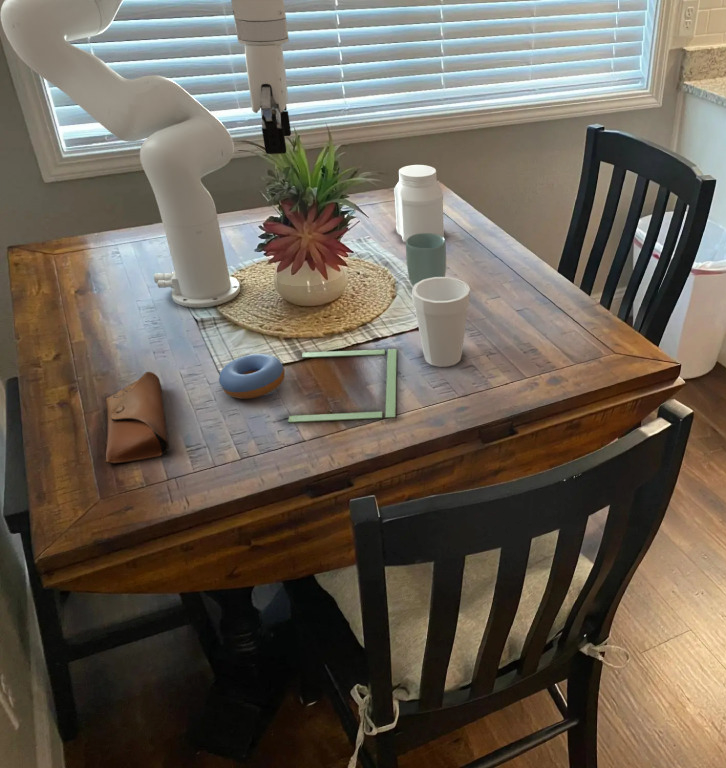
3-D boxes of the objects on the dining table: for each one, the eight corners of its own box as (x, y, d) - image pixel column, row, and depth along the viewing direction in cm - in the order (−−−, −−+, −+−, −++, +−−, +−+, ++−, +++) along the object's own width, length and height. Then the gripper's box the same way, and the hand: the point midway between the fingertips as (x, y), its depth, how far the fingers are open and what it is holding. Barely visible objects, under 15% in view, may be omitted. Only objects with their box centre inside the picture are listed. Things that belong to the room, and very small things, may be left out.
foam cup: (478, 349, 132) (478, 282, 125) (458, 376, 125) (457, 306, 118) (429, 339, 135) (426, 273, 128) (406, 364, 128) (402, 296, 120)
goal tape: (288, 422, 113) (288, 421, 113) (302, 353, 130) (302, 352, 130) (395, 417, 115) (395, 416, 115) (396, 349, 132) (396, 348, 131)
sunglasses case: (101, 396, 117) (116, 361, 115) (149, 406, 121) (164, 372, 119) (105, 466, 103) (121, 426, 101) (158, 474, 108) (175, 437, 106)
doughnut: (212, 383, 121) (207, 359, 119) (272, 364, 127) (268, 340, 124) (235, 413, 115) (230, 388, 112) (297, 391, 120) (293, 367, 118)
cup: (449, 279, 155) (448, 234, 149) (443, 297, 148) (441, 250, 143) (412, 277, 155) (410, 231, 150) (404, 294, 149) (401, 247, 143)
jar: (393, 227, 177) (389, 164, 168) (432, 223, 180) (430, 160, 172) (406, 246, 168) (403, 181, 160) (447, 241, 171) (446, 176, 163)
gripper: (243, 22, 121) (261, 130, 130) (228, 41, 107) (249, 161, 116) (291, 22, 122) (305, 129, 132) (282, 41, 108) (298, 159, 117)
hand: (279, 144), depth 124 cm, fingers open, 9 cm apart
